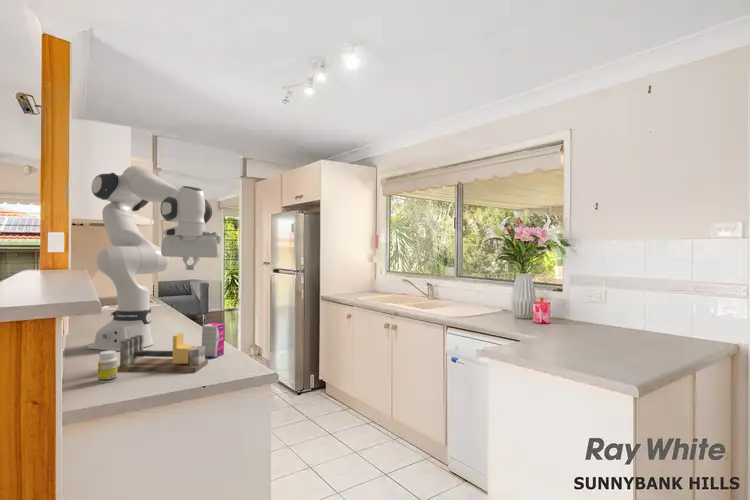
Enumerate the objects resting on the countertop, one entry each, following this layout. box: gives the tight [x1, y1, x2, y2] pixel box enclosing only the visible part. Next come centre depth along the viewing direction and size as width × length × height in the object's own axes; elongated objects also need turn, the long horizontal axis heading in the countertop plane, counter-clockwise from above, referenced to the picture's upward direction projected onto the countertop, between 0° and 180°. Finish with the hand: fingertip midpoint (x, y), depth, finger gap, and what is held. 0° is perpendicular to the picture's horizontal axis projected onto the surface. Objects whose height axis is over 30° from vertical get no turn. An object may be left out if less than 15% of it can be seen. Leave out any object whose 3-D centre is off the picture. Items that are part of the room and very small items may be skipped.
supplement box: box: [201, 322, 226, 359], centre depth 153 cm, size 6×6×12 cm
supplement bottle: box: [97, 350, 118, 384], centre depth 124 cm, size 5×5×8 cm
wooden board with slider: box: [118, 335, 209, 373], centre depth 138 cm, size 24×10×9 cm, turn 91°
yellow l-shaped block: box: [172, 332, 196, 364], centre depth 138 cm, size 5×5×9 cm
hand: (190, 269), depth 152 cm, fingers closed
